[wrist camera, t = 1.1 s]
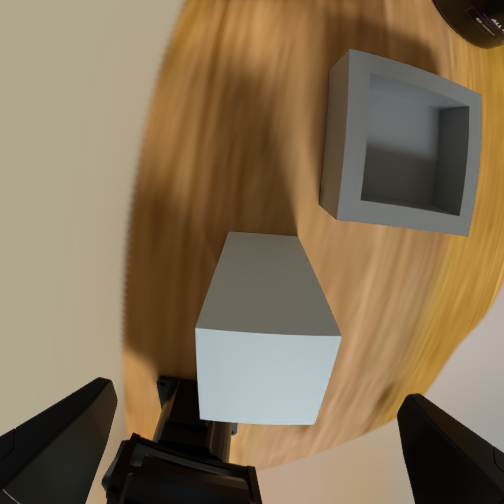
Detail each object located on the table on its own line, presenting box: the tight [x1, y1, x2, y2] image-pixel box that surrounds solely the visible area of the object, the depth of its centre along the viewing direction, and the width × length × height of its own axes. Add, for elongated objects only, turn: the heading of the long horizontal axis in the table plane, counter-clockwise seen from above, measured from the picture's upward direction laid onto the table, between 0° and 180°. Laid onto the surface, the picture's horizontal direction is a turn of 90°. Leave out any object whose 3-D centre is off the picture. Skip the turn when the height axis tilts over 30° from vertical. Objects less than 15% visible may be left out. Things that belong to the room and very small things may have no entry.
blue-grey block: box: [195, 231, 342, 425], centre depth 13 cm, size 4×4×10 cm
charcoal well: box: [319, 49, 482, 237], centre depth 13 cm, size 8×8×4 cm
